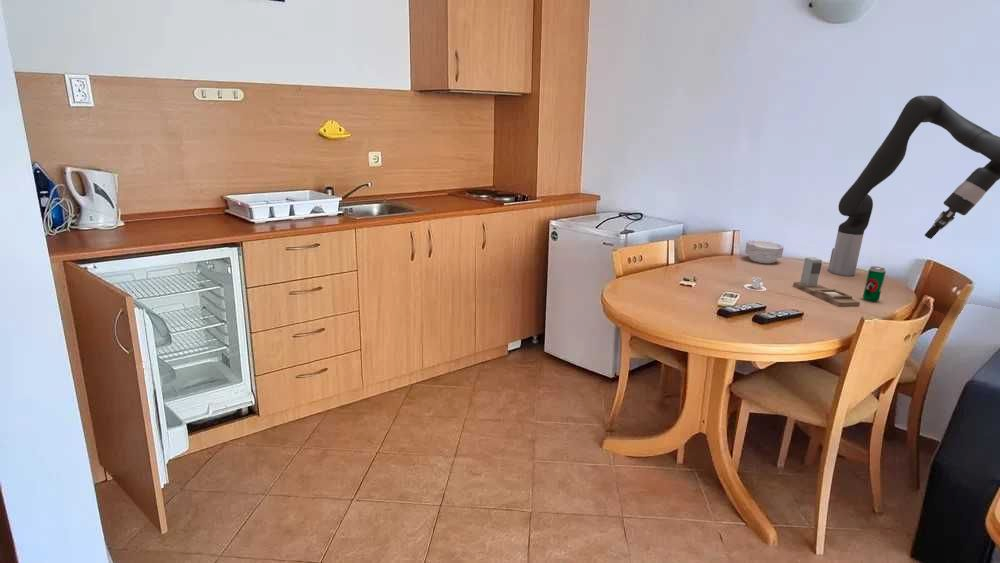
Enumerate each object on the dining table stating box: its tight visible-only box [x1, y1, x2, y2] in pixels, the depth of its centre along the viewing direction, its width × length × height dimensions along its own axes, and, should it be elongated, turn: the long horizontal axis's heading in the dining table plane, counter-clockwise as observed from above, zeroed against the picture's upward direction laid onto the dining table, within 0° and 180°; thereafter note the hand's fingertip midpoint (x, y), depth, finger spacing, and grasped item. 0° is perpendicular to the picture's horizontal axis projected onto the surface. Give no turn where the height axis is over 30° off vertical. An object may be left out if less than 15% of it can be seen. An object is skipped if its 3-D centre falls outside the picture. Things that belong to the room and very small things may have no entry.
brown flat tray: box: [792, 281, 861, 308], centre depth 216 cm, size 24×8×2 cm, turn 11°
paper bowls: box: [744, 239, 784, 264], centre depth 263 cm, size 15×15×8 cm
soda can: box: [862, 265, 886, 303], centre depth 212 cm, size 5×5×12 cm
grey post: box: [799, 256, 823, 286], centre depth 223 cm, size 5×4×10 cm
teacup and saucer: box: [743, 276, 767, 292], centre depth 222 cm, size 9×8×4 cm
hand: (927, 237), depth 205 cm, fingers open, 8 cm apart
